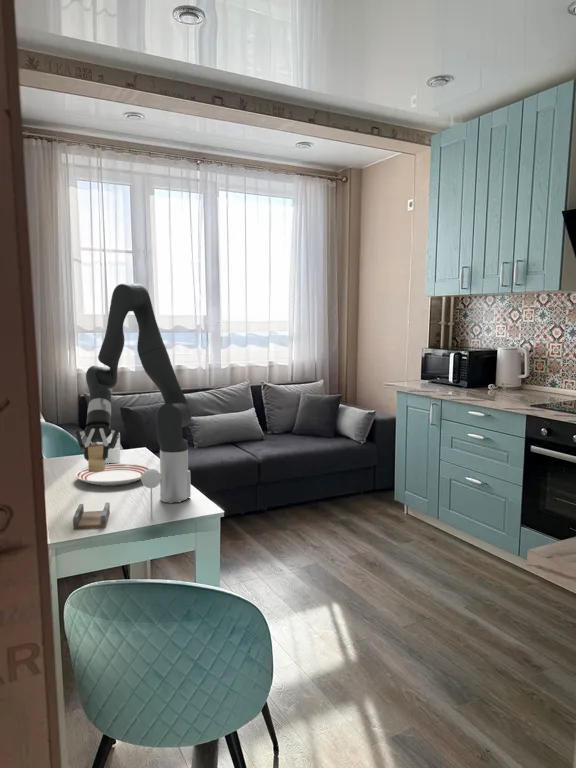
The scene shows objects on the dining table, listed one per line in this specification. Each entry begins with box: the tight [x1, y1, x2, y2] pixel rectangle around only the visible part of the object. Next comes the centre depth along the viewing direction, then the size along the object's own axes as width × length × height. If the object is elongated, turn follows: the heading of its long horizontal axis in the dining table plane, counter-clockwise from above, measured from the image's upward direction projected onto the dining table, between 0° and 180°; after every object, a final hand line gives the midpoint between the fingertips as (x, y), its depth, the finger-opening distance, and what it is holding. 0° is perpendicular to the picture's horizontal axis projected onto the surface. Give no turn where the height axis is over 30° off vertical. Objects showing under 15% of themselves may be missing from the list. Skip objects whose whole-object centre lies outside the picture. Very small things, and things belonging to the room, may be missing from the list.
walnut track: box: [72, 502, 111, 530], centre depth 167 cm, size 12×9×4 cm
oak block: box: [87, 443, 106, 472], centre depth 178 cm, size 4×4×8 cm
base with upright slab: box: [97, 432, 121, 465], centre depth 236 cm, size 9×9×12 cm
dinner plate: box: [74, 463, 151, 487], centre depth 210 cm, size 28×27×3 cm
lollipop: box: [140, 468, 162, 517], centre depth 171 cm, size 6×6×15 cm
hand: (95, 458), depth 176 cm, fingers closed on oak block, 4 cm apart
